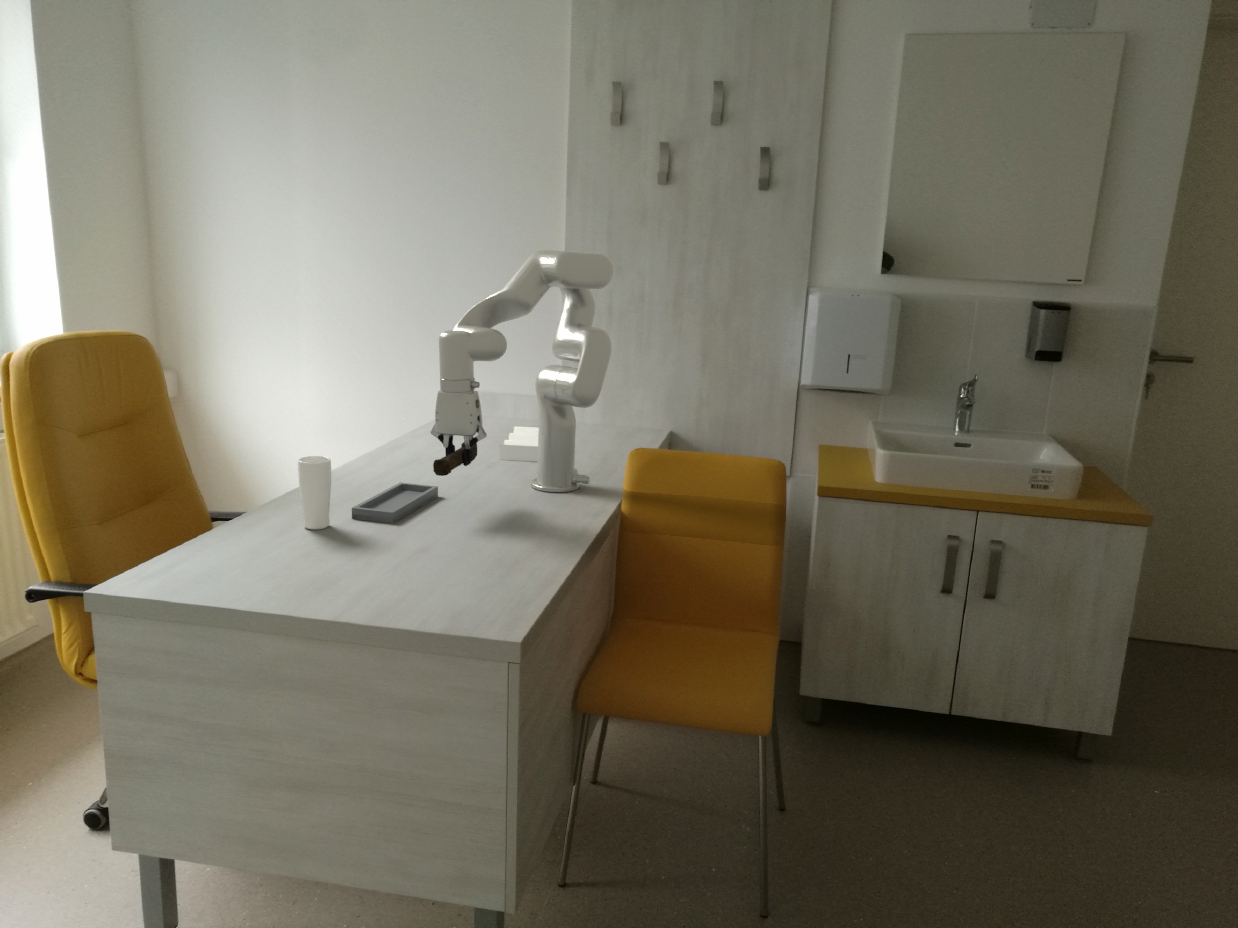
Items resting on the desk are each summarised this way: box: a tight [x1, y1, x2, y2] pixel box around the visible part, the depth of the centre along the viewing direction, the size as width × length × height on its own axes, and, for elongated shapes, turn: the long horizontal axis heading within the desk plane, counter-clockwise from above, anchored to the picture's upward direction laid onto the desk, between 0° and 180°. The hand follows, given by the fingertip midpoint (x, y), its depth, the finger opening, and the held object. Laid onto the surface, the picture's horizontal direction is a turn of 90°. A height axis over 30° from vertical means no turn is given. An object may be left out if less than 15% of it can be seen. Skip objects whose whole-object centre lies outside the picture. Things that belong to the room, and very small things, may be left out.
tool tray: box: [351, 481, 439, 524], centre depth 220 cm, size 10×24×2 cm, turn 167°
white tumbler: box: [297, 455, 332, 531], centre depth 201 cm, size 7×7×15 cm
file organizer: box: [499, 425, 539, 463], centre depth 287 cm, size 13×35×5 cm, turn 178°
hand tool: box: [432, 441, 478, 477], centre depth 216 cm, size 19×4×5 cm, turn 161°
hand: (459, 463), depth 217 cm, fingers closed on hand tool, 3 cm apart
